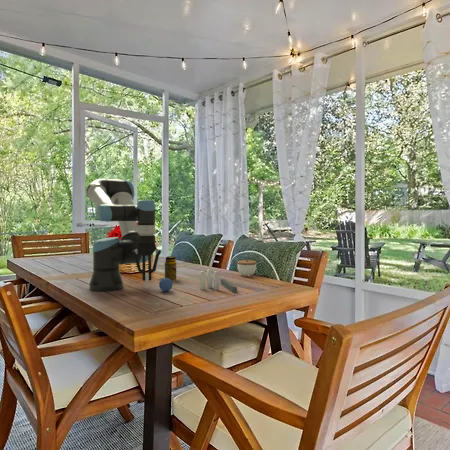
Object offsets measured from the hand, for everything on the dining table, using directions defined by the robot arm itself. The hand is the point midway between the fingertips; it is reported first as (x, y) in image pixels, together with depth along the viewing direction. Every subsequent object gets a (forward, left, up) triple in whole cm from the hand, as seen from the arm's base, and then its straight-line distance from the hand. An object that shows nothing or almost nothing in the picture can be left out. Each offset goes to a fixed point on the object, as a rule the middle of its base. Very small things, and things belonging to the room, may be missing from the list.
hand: (147, 287), depth 167 cm
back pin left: (+29, +3, -2) cm, 30 cm away
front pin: (+25, +1, -2) cm, 26 cm away
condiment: (+13, +28, -3) cm, 31 cm away
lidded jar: (+57, +30, -3) cm, 65 cm away
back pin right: (+31, -2, -2) cm, 32 cm away
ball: (+8, +1, +1) cm, 8 cm away
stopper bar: (+38, +1, -2) cm, 38 cm away
